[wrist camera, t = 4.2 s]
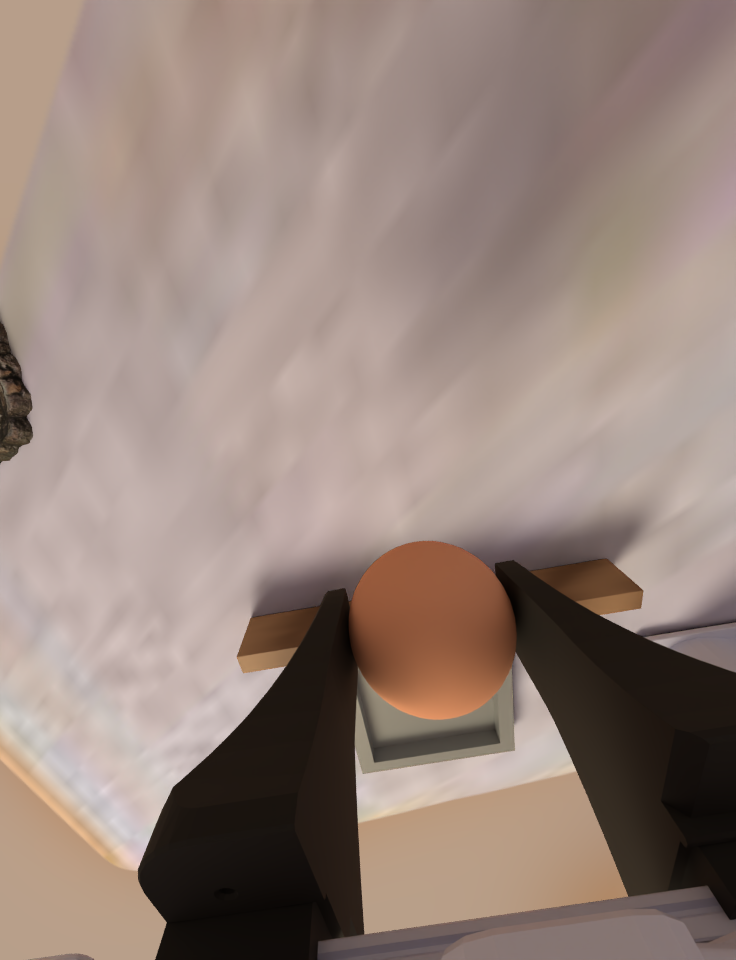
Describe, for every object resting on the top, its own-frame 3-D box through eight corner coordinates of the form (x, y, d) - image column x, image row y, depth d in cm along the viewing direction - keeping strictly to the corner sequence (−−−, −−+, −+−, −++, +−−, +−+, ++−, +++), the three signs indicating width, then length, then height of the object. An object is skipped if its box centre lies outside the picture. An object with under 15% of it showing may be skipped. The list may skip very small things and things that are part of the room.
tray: (501, 616, 23) (510, 632, 22) (507, 730, 27) (514, 750, 26) (332, 643, 24) (331, 661, 22) (362, 753, 28) (362, 774, 26)
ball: (478, 502, 13) (552, 598, 8) (486, 615, 14) (550, 747, 10) (337, 527, 13) (327, 636, 8) (361, 636, 15) (366, 775, 10)
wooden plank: (606, 558, 22) (643, 590, 19) (605, 574, 23) (641, 608, 20) (250, 617, 23) (236, 657, 20) (256, 632, 23) (243, 673, 20)
